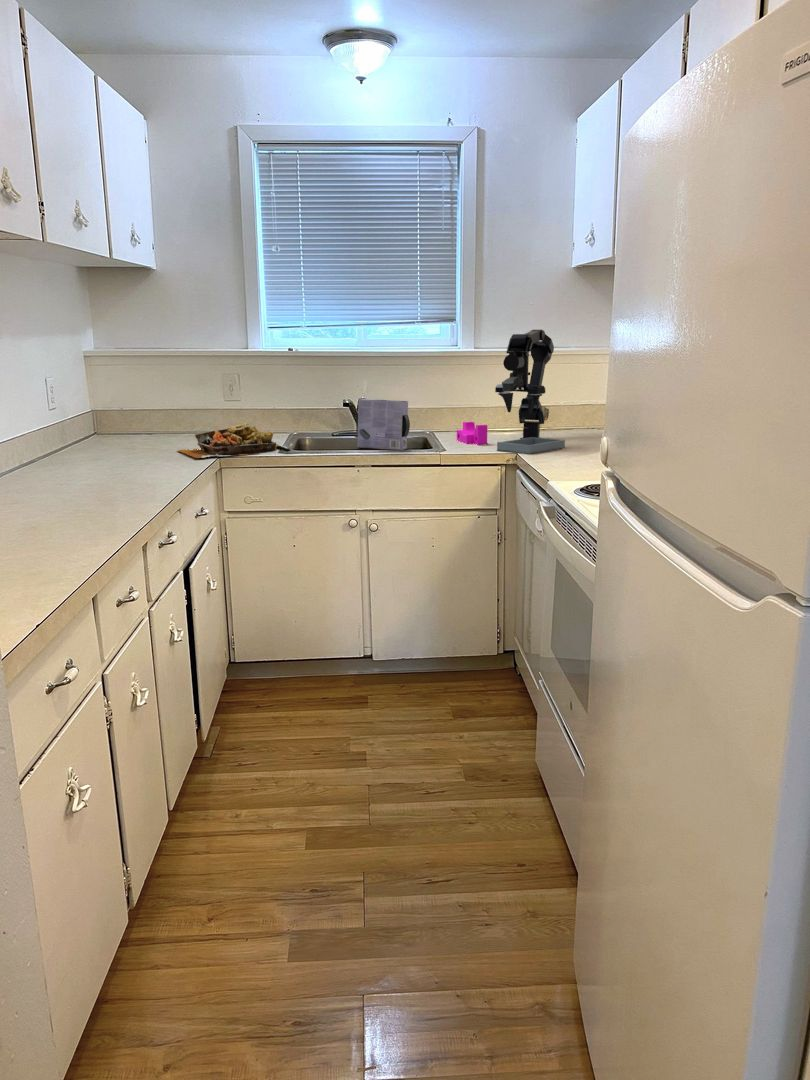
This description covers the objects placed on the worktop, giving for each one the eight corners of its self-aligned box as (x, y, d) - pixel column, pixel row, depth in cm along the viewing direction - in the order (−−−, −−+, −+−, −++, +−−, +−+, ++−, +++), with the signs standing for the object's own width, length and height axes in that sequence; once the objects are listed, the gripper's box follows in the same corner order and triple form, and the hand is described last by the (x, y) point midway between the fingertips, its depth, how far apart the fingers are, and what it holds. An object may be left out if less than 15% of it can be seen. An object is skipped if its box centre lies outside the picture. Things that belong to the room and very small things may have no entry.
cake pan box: (410, 449, 288) (410, 399, 283) (404, 450, 283) (404, 400, 279) (363, 446, 296) (362, 398, 291) (356, 448, 291) (355, 399, 287)
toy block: (456, 441, 311) (456, 422, 309) (471, 440, 313) (471, 421, 311) (471, 446, 297) (471, 425, 295) (487, 445, 299) (487, 425, 297)
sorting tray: (532, 445, 296) (532, 437, 295) (564, 448, 286) (564, 440, 286) (497, 450, 282) (497, 442, 281) (529, 454, 272) (529, 445, 271)
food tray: (196, 460, 267) (193, 428, 264) (176, 452, 288) (174, 422, 286) (294, 453, 284) (292, 422, 281) (268, 445, 305) (267, 417, 303)
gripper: (486, 370, 291) (485, 413, 295) (528, 371, 279) (527, 416, 283) (504, 368, 299) (504, 410, 303) (546, 369, 286) (545, 413, 290)
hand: (519, 413), depth 294 cm, fingers open, 9 cm apart
